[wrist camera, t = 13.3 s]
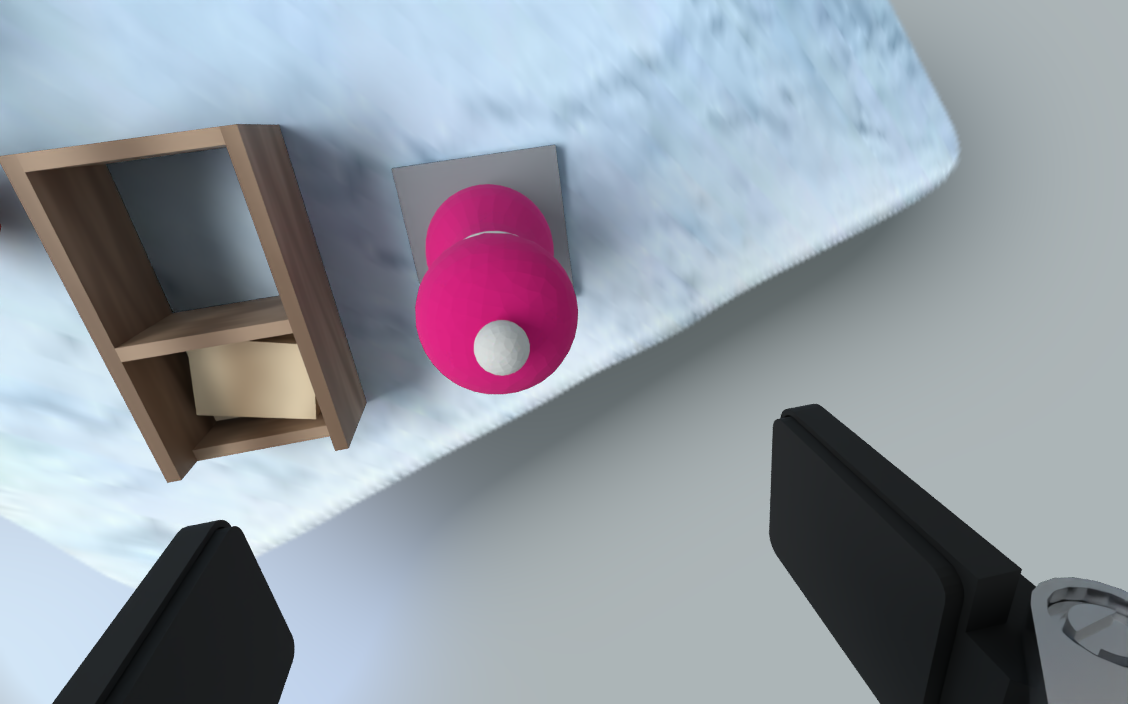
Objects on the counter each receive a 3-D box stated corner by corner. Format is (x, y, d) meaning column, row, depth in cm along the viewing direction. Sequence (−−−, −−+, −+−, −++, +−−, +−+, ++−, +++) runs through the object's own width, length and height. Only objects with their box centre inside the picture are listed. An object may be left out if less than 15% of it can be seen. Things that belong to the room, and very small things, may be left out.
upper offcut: (320, 334, 35) (312, 344, 33) (323, 406, 36) (316, 419, 35) (200, 327, 33) (185, 337, 32) (209, 401, 35) (196, 415, 34)
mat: (554, 144, 34) (555, 145, 33) (573, 296, 38) (574, 299, 37) (392, 168, 33) (391, 168, 32) (430, 320, 37) (429, 323, 36)
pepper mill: (555, 192, 34) (647, 268, 16) (531, 299, 37) (586, 471, 18) (440, 165, 32) (395, 213, 14) (423, 279, 35) (365, 445, 17)
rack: (278, 124, 31) (236, 124, 25) (366, 402, 38) (348, 448, 33) (84, 151, 30) (-4, 156, 25) (212, 430, 37) (167, 482, 32)
